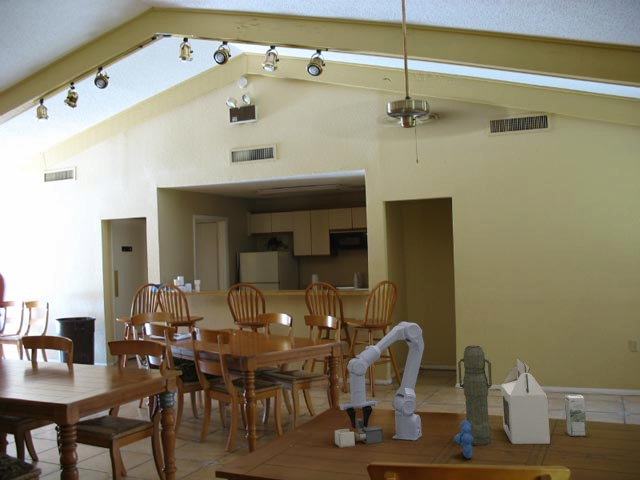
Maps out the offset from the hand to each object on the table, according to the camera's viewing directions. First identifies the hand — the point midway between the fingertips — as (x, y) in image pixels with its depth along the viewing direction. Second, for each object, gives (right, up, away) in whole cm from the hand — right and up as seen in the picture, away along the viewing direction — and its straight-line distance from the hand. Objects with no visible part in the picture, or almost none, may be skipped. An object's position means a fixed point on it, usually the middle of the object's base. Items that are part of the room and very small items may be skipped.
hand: (359, 427), depth 239 cm
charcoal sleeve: (+5, -6, +1) cm, 8 cm away
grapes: (+34, -3, -23) cm, 42 cm away
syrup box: (+81, -2, -2) cm, 81 cm away
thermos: (+43, -4, -7) cm, 44 cm away
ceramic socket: (-6, -6, -2) cm, 9 cm away
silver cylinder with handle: (+3, -5, +1) cm, 6 cm away
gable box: (+62, -3, -1) cm, 63 cm away
